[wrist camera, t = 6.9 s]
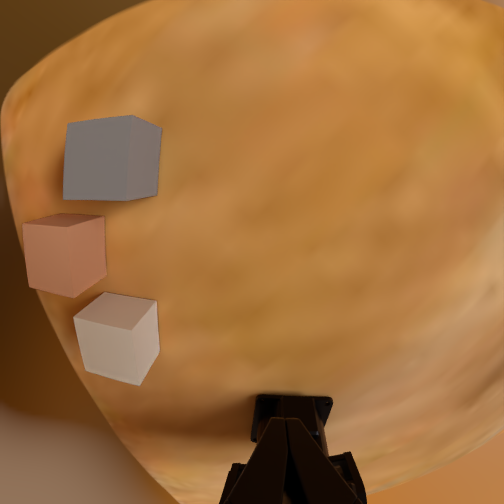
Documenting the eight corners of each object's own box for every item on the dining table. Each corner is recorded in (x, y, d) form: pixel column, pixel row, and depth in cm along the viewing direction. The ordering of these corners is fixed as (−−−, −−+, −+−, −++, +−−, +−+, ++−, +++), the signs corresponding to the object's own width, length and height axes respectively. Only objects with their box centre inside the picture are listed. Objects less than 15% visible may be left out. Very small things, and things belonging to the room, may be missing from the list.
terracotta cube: (106, 275, 20) (73, 298, 15) (63, 268, 20) (29, 286, 15) (104, 216, 18) (67, 227, 14) (60, 213, 19) (22, 223, 14)
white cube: (159, 351, 21) (139, 386, 17) (111, 340, 21) (85, 370, 17) (156, 300, 20) (131, 330, 15) (104, 292, 20) (73, 316, 16)
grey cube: (157, 195, 18) (126, 200, 14) (101, 193, 18) (62, 199, 14) (161, 128, 17) (132, 115, 12) (105, 131, 17) (67, 123, 13)
